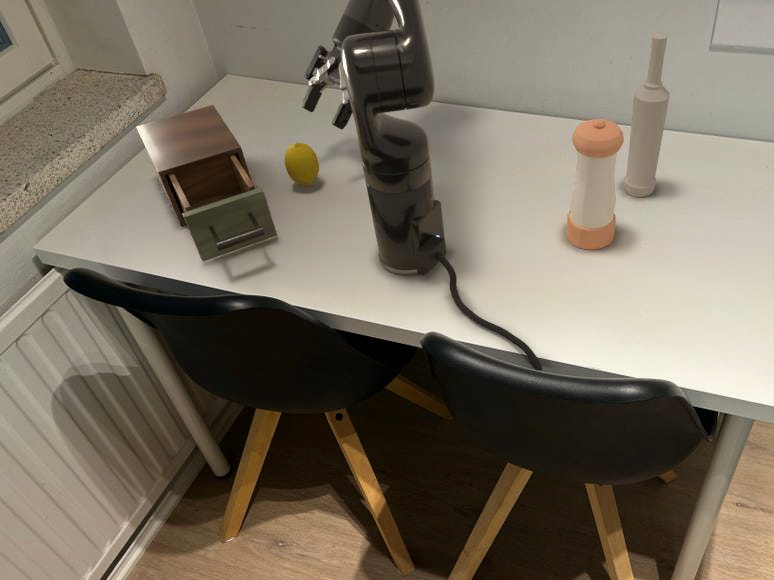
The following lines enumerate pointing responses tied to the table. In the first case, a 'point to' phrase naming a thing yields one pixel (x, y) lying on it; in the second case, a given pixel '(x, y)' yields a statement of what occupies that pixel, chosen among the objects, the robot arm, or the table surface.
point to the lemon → (301, 163)
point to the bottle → (647, 125)
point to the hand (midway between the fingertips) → (321, 118)
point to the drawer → (222, 207)
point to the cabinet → (187, 146)
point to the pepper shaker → (594, 184)
